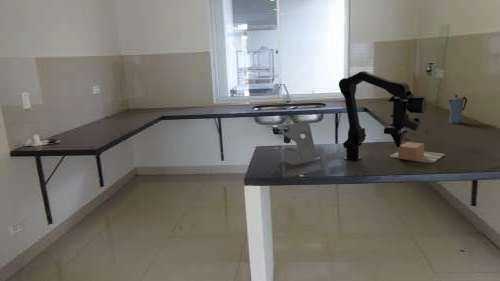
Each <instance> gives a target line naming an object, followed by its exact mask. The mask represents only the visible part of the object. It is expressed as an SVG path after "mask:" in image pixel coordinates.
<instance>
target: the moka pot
mask: <svg viewBox="0 0 500 281" xmlns="http://www.w3.org/2000/svg"><path fill="white" fill-rule="evenodd" d="M454 96H455V97H451V98H448V100H447V101H448V106H449V111H450V113H449V119H448V123H449V124H463V123H464V119H463V113H462V111H464V110H465V109H466V104H467V102H468V99H467V98H466V96H461V97H459V96H458V94H455V95H454Z"/></svg>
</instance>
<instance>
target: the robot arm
mask: <svg viewBox="0 0 500 281" xmlns="http://www.w3.org/2000/svg"><path fill="white" fill-rule="evenodd" d="M363 82H365V83H367V84H370V85H373V86H375V87H378V88H381V89H383V90H385V91H386V92H388V94H390V95H391V97H390V98H389V99H388V100H387V102H389V103H392V114H390V117H391V118H392V119H391V120H392V122H391V123H390V125H389V126H385V127H384V128H383V134H385V135H390V136H391V138H392V140H393V142H394V144H395V146H396V148H399V147H400V145H402V142H403V139H404V136H405V135H406V134H407V133H409V131H408V130H406V129H410V130H411V131H416V130H419V127H420V126H421V125H422V124H421V118H420V117H414V118H411V117H410V114H425V113H426V111H427V107H428V106H427V105H428V104H427V100H426V97H425V96H418V97H416V96H415V95H414V94H413V93H412V91H411V90H410V86H409V84H408V83H406V82H402V81H394V80H389V79H386V78H383V77H381V76H377V75H375V74H372V73H370V72H368V71H363V70H362V71H358V73H357V72H356V74H353V75H351V76H349V77H344V78H341V79H340V80H339V82H338V88H339V91H340V93H341V95H342V96H343V97H344V102H345V108H346V109H345V110H346V113H347V121H348V126H349V127H348V131H347V139H346V140H345V141H344V142H343V148H345V149H346V155H345V157H343V160H347V161H353V162H356V161H359V160H361V159H362V157H361V156H360V154H359V153H360V150H359V149H360V146H361V147H362V143H364V141H365V140H366V137H367V135H366V128H365V127H363V128H362V126H361V125H360V120H359V113H358V109H357V108H358V107H357V100H356V92H357V85H359V84H361V83H363ZM407 112H408V113H410V114H408V113H407Z"/></svg>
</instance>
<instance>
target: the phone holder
mask: <svg viewBox="0 0 500 281" xmlns="http://www.w3.org/2000/svg"><path fill="white" fill-rule="evenodd" d="M284 128H286V129H287V132H285V130H284ZM280 131H281V134H282V135H283V136H285V137H286V138H288V139H290V140H291V141H292V142H295V143H296V148H297V149H296V148H293V147H284V148H283V160H282V162H284V163H287V164H289V165H293V166H296V165H301V164H306V163H311V162H315V161H321V157H320V156H318V155H317V152H316V147H315V143H314V139H313V134H312V129H311V125H310V123H309V122H307V121H306V122H305V121H304V122H299V123H298V122H297V123H291V124H284V125H283V126H281V128H280ZM302 134H304V138H303V137H302Z"/></svg>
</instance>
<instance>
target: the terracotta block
mask: <svg viewBox="0 0 500 281" xmlns="http://www.w3.org/2000/svg"><path fill="white" fill-rule="evenodd" d="M397 149H398V151H397V152H398V158H399V160H404V159H406V161H412V160H414V161H413V162H417V161H416V160H418V159H419V158H421V157H423V156H424V152H425V143H419V142H412V141H411V142H410V141H407V142H404V143H401V145H400V147H397Z"/></svg>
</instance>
